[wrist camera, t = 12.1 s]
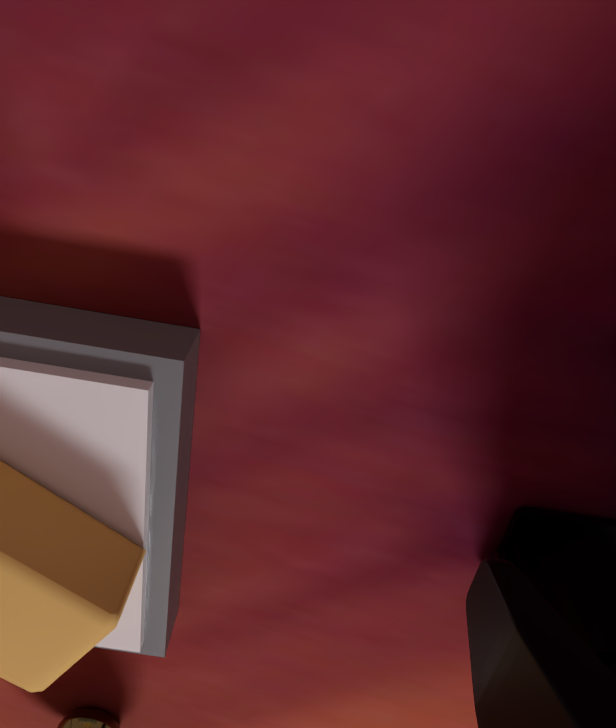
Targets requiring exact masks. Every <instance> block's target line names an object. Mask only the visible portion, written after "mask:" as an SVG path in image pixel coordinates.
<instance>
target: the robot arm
mask: <svg viewBox="0 0 616 728" xmlns="http://www.w3.org/2000/svg"><path fill="white" fill-rule="evenodd" d="M525 518H529V519H527V520H524V519H525ZM466 614H467V626H468V637H469V649H470V660H471V672H472V683H473V694H474V703H475V711H476V717H477V723H478V728H616V520H610V519H603V518H597V517H591V516H584V515H578V514H572V513H565V512H559V511H553V510H546V509H540V508H534V507H522V508H520V509H518V510H517V511H516V512H515V513H514V515H513V518H512V520H511V522H510V524H509V527H508V529H507V531H506V533H505V536H504V538H503V540H502V542H501V545H499V546H498V547H497V548H496V549H495V551H494V553H493V555H492V558H485V559H483V560H482V562H481V563H480V565H479V567H478V570H477V572H476V574H475V577H474V579H473V581H472V584H471V586H470V588H469V591H468V594H467V599H466Z"/></svg>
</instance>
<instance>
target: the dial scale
mask: <svg viewBox="0 0 616 728" xmlns="http://www.w3.org/2000/svg"><path fill="white" fill-rule="evenodd" d="M199 341H200V329H196V328H190V327H184V326H178V325H172V324H166V323H160V322H154V321H148V320H142V319H136V318H130V317H123V316H117V315H111V314H105V313H99V312H93V311H87V310H81V309H75V308H69V307H63V306H57V305H51V304H45V303H39V302H33V301H27V300H21V299H15V298H9V297H3V296H0V460H1V461H3V462H4V463H6V464H8V465H9V466H11V467H12V468H14V469H16V470H17V471H19V472H20V473H22V474H24V475H25V476H27V477H29V478H30V479H32V480H33V481H35V482H37V483H38V484H40V485H41V486H43V487H45V488H46V489H48V490H49V491H51V492H53V493H54V494H56V495H58V496H59V497H61V498H62V499H64V500H66V501H67V502H69V503H70V504H72V505H74V506H75V507H77V508H78V509H80V510H82V511H83V512H85V513H87V514H88V515H90V516H91V517H93V518H95V519H96V520H98V521H99V522H101V523H103V524H104V525H106V526H108V527H109V528H111V529H112V530H114V531H116V532H117V533H119V534H120V535H122V536H124V537H125V538H127V539H128V540H130V541H132V542H133V543H135V544H137V545H138V546H140V547H141V548H143V549H145V550H146V553H145V555H144V558H143V561H142V563H141V566H140V568H139V571H138V573H137V576H136V578H135V581H134V584H133V586H132V589H131V591H130V594H129V596H128V599H127V602H126V604H125V607H124V609H123V612H122V614H121V617H120V619H119V622H118V624H117V626H116V628H115V629H114V630H113V631H112V632H110V633H109V634H108V635H107V636H106V637H105V638H104V639H102V640H101V641H100V642H99V643H98V644H97V645H95V646H94V647H96V648H103V649H110V650H117V651H124V652H131V653H138V654H145V655H151V656H158V657H165V654H166V651H167V647H168V644H169V641H170V637H171V634H172V630H173V627H174V623H175V620H176V616H177V613H178V607H179V595H180V582H181V569H182V557H183V544H184V531H185V518H186V506H187V493H188V480H189V468H190V455H191V442H192V429H193V417H194V404H195V391H196V379H197V366H198V353H199Z"/></svg>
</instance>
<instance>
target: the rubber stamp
mask: <svg viewBox="0 0 616 728" xmlns="http://www.w3.org/2000/svg"><path fill="white" fill-rule="evenodd" d="M145 553H146V550H145V549H143V548H141V547H140V546H138V545H137V544H135V543H133V542H132V541H130V540H128V539H127V538H125V537H124V536H122V535H120V534H119V533H117V532H116V531H114V530H112V529H111V528H109V527H108V526H106V525H104V524H103V523H101V522H99V521H98V520H96V519H95V518H93V517H91V516H90V515H88V514H87V513H85V512H83V511H82V510H80V509H78V508H77V507H75V506H74V505H72V504H70V503H69V502H67V501H66V500H64V499H62V498H61V497H59V496H58V495H56V494H54V493H53V492H51V491H49V490H48V489H46V488H45V487H43V486H41V485H40V484H38V483H37V482H35V481H33V480H32V479H30V478H29V477H27V476H25V475H24V474H22V473H20V472H19V471H17V470H16V469H14V468H12V467H11V466H9V465H8V464H6V463H4V462H3V461H1V460H0V677H1V678H3V679H5V680H7V681H9V682H11V683H13V684H15V685H17V686H19V687H21V688H23V689H25V690H27V691H29V692H40V691H44V690H45V689H46V688H47V687H48V686H49V685H51V684H52V683H53V682H54V681H55V680H56V679H57V678H59V677H60V676H61V675H62V674H63V673H64V672H66V671H67V670H68V669H69V668H70V667H71V666H72V665H74V664H75V663H76V662H77V661H78V660H79V659H81V658H82V657H83V656H84V655H85V654H86V653H87V652H89V651H90V650H91V649H92V648H93V647H94V646H95V645H97V644H98V643H99V642H100V641H101V640H102V639H104V638H105V637H106V636H107V635H108V634H109V633H110V632H112V631H113V630H114V629H115V628H116V626H117V624H118V622H119V619H120V617H121V614H122V612H123V609H124V607H125V604H126V602H127V599H128V596H129V594H130V591H131V589H132V586H133V584H134V581H135V578H136V576H137V573H138V571H139V568H140V566H141V563H142V561H143V558H144V555H145Z"/></svg>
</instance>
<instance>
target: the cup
mask: <svg viewBox="0 0 616 728" xmlns="http://www.w3.org/2000/svg"><path fill="white" fill-rule="evenodd" d="M57 728H120V727H119V724H118V722H117V721H116V720H115V719H114V718H113V717H112V716H111V715H109V714H107V713H105V712H103V711H101V710H97V709H91V708H82V709H77V710H74V711H72V712H70V713H69V714H67V715H66V716H65V717H64V718H63V720H62V721H61V722H60V723H59V725H58V727H57Z"/></svg>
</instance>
